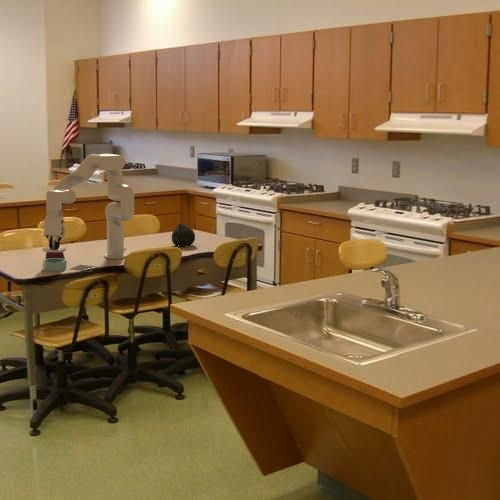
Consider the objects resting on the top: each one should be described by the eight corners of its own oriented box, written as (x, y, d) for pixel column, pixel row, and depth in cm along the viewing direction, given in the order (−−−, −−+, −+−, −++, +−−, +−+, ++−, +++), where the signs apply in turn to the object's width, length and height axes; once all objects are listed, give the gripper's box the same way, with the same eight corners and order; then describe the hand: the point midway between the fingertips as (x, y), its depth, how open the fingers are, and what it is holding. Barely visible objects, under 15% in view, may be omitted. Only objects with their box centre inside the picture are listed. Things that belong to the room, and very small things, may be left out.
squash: (202, 237, 462) (189, 218, 463) (191, 241, 448) (177, 222, 450) (188, 249, 468) (174, 231, 470) (176, 254, 455) (162, 235, 456)
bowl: (51, 266, 392) (51, 257, 391) (69, 268, 389) (69, 259, 388) (40, 270, 382) (40, 261, 381) (58, 272, 379) (58, 263, 378)
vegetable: (55, 270, 397) (52, 246, 390) (42, 265, 402) (38, 241, 395) (69, 263, 404) (66, 239, 397) (56, 258, 409) (53, 234, 402)
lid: (50, 247, 390) (50, 236, 389) (70, 249, 387) (70, 238, 386) (38, 251, 379) (37, 240, 378) (58, 253, 376) (58, 242, 375)
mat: (80, 265, 397) (80, 264, 397) (100, 267, 393) (100, 266, 393) (68, 270, 385) (68, 269, 385) (89, 272, 382) (89, 271, 382)
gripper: (71, 214, 381) (71, 248, 384) (44, 211, 385) (44, 245, 389) (64, 216, 374) (64, 251, 377) (36, 213, 378) (36, 248, 382)
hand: (54, 248), depth 383 cm, fingers closed on lid, 2 cm apart
